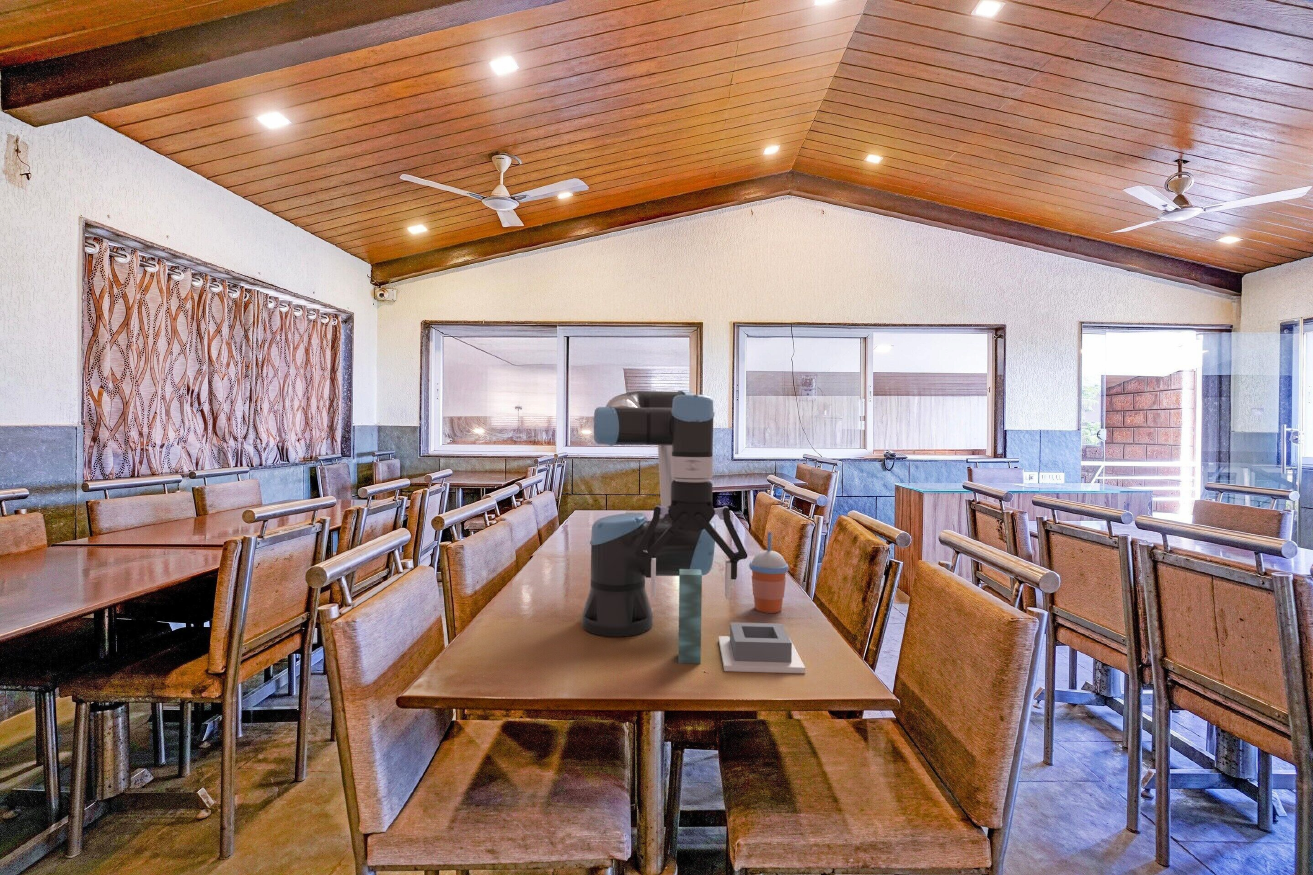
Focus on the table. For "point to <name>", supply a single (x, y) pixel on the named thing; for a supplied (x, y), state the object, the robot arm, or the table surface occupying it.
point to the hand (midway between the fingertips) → (690, 596)
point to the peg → (690, 615)
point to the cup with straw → (768, 579)
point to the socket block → (759, 649)
